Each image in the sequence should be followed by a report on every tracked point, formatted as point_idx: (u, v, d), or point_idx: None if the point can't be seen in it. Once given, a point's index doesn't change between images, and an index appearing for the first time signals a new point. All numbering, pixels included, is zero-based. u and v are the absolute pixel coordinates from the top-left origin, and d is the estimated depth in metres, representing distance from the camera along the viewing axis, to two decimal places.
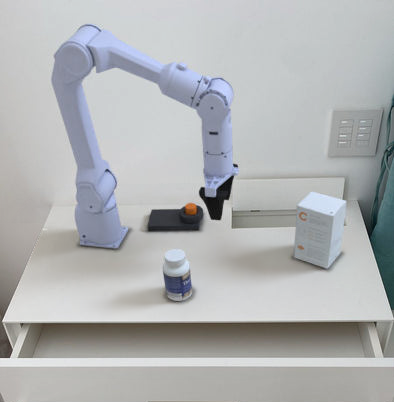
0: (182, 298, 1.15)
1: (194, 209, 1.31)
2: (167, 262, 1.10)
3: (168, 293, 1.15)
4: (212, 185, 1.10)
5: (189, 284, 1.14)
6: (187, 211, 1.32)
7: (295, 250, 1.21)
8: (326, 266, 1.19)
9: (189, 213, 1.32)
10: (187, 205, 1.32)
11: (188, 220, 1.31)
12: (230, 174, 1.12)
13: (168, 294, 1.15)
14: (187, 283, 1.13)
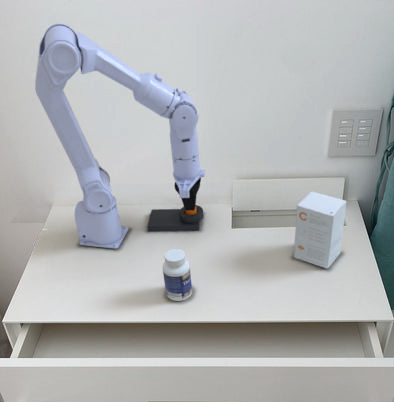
0: (182, 298, 1.15)
1: (194, 211, 1.32)
2: (167, 262, 1.10)
3: (168, 293, 1.15)
4: (185, 187, 1.21)
5: (189, 284, 1.14)
6: (187, 213, 1.32)
7: (295, 250, 1.21)
8: (326, 266, 1.19)
9: (190, 214, 1.32)
10: None
11: (188, 220, 1.31)
12: (198, 176, 1.24)
13: (168, 294, 1.15)
14: (187, 283, 1.13)
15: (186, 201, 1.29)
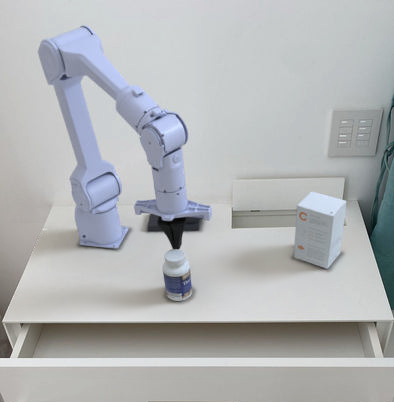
0: (182, 298, 1.15)
1: None
2: (167, 262, 1.10)
3: (168, 293, 1.15)
4: (142, 205, 1.07)
5: (189, 284, 1.14)
6: None
7: (295, 250, 1.21)
8: (326, 266, 1.19)
9: None
10: None
11: (188, 220, 1.31)
12: (161, 214, 1.05)
13: (168, 294, 1.15)
14: (187, 283, 1.13)
15: None
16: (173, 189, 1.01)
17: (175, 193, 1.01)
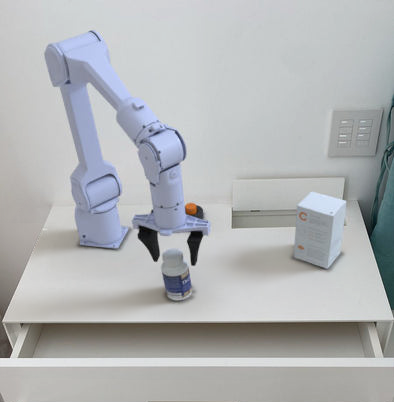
0: (182, 297, 1.15)
1: (194, 209, 1.31)
2: (165, 262, 1.10)
3: (168, 293, 1.15)
4: (140, 219, 1.06)
5: (188, 283, 1.14)
6: (187, 211, 1.32)
7: (295, 250, 1.21)
8: (326, 266, 1.19)
9: (189, 213, 1.32)
10: (187, 205, 1.32)
11: None
12: (159, 229, 1.04)
13: (168, 294, 1.15)
14: (187, 282, 1.13)
15: None
16: (170, 205, 0.99)
17: (173, 208, 1.00)
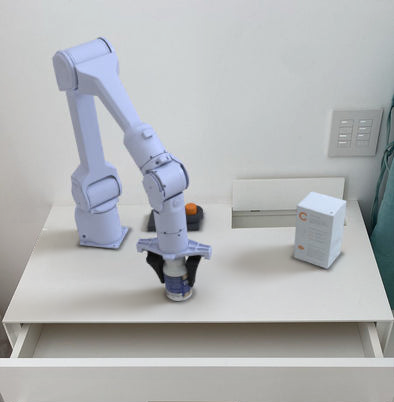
0: (182, 298, 1.15)
1: (194, 209, 1.31)
2: (167, 262, 1.10)
3: (168, 293, 1.15)
4: (144, 243, 1.10)
5: None
6: (187, 211, 1.32)
7: (295, 250, 1.21)
8: (326, 266, 1.19)
9: (189, 213, 1.32)
10: (187, 205, 1.32)
11: (188, 220, 1.31)
12: (162, 253, 1.07)
13: (169, 294, 1.15)
14: (188, 283, 1.14)
15: None
16: (173, 231, 1.03)
17: (176, 234, 1.04)
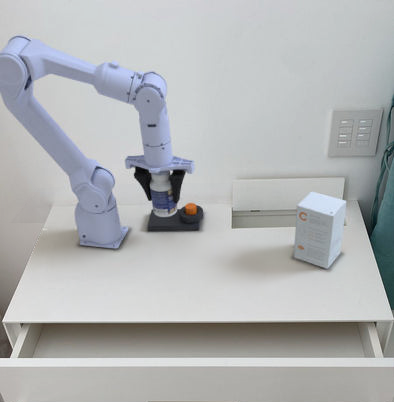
0: (168, 214, 1.24)
1: (194, 209, 1.31)
2: (153, 177, 1.19)
3: (155, 209, 1.24)
4: (132, 159, 1.19)
5: None
6: (187, 211, 1.32)
7: (295, 250, 1.21)
8: (326, 266, 1.19)
9: (189, 213, 1.32)
10: (187, 205, 1.32)
11: (188, 220, 1.31)
12: (148, 167, 1.16)
13: (155, 210, 1.24)
14: None
15: None
16: (167, 140, 1.13)
17: (161, 147, 1.13)
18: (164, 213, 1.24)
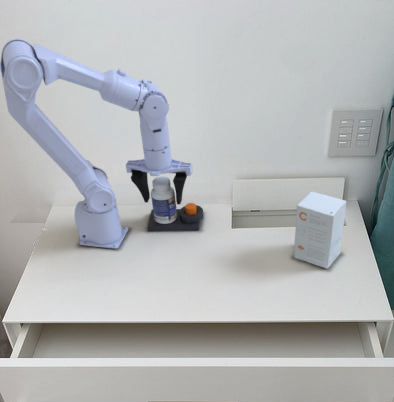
0: (169, 221, 1.32)
1: (194, 209, 1.31)
2: (155, 187, 1.27)
3: (156, 217, 1.32)
4: (132, 164, 1.25)
5: (174, 208, 1.31)
6: (187, 211, 1.32)
7: (295, 250, 1.21)
8: (326, 266, 1.19)
9: (189, 213, 1.32)
10: (187, 205, 1.32)
11: (188, 220, 1.31)
12: (149, 171, 1.23)
13: (156, 218, 1.32)
14: (173, 207, 1.30)
15: None
16: (169, 142, 1.20)
17: (161, 151, 1.19)
18: (165, 220, 1.32)
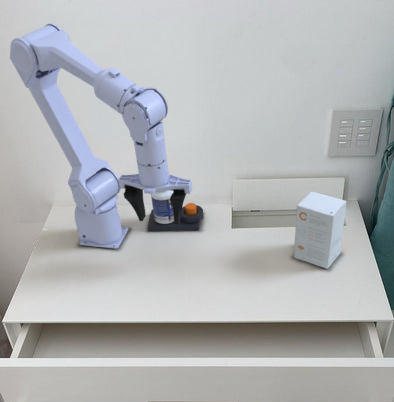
0: (169, 221, 1.32)
1: (194, 209, 1.31)
2: None
3: (156, 217, 1.32)
4: (126, 179, 1.13)
5: None
6: (187, 211, 1.32)
7: (295, 250, 1.21)
8: (326, 266, 1.19)
9: (189, 213, 1.32)
10: (187, 205, 1.32)
11: (188, 220, 1.31)
12: (143, 187, 1.10)
13: (156, 218, 1.32)
14: None
15: None
16: (157, 162, 1.06)
17: (156, 167, 1.06)
18: (165, 220, 1.32)
